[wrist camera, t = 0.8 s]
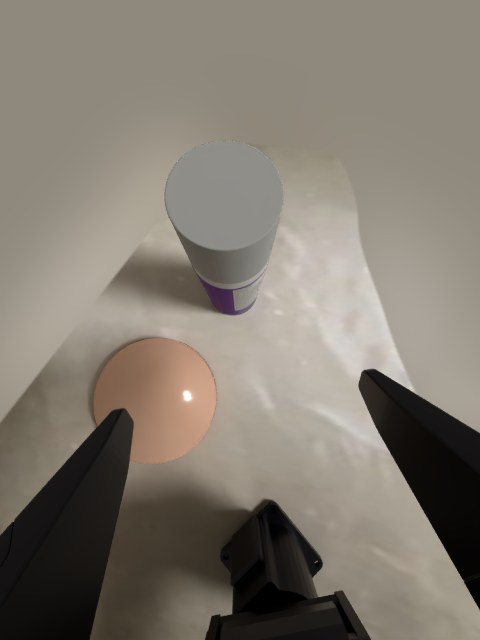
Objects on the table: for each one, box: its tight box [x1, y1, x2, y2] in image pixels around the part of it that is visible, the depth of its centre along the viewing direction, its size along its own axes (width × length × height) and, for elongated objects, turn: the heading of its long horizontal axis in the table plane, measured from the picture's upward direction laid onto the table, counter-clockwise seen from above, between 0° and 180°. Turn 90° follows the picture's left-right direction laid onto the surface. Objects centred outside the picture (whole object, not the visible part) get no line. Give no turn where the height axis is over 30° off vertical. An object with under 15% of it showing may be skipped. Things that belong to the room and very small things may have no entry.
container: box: [165, 140, 284, 315], centre depth 16 cm, size 5×5×15 cm
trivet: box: [93, 338, 217, 464], centre depth 21 cm, size 11×11×1 cm
